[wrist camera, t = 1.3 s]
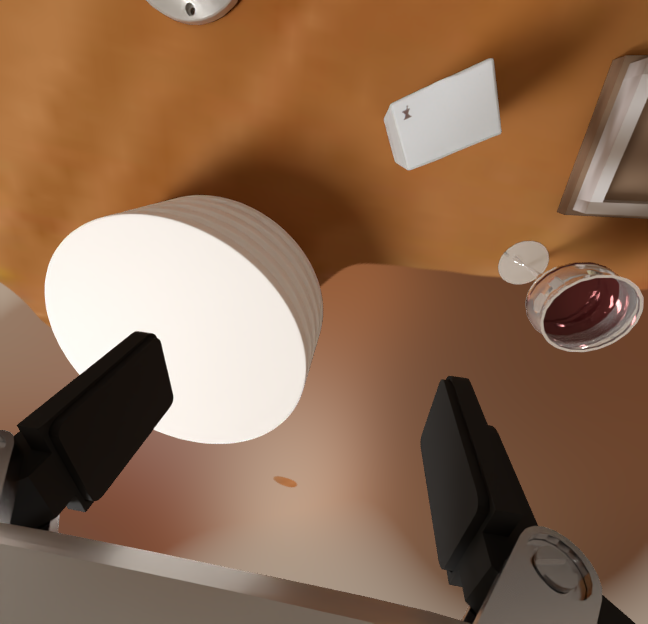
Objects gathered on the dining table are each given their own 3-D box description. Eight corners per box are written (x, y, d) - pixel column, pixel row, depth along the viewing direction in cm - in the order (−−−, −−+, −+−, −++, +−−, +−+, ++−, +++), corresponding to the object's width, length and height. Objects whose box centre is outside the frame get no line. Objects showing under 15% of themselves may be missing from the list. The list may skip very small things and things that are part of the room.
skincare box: (395, 164, 31) (405, 173, 21) (382, 118, 29) (387, 102, 19) (458, 138, 29) (504, 134, 19) (449, 87, 27) (494, 51, 17)
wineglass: (476, 264, 34) (520, 315, 24) (534, 218, 31) (613, 254, 21) (513, 302, 36) (570, 366, 25) (572, 262, 33) (663, 316, 22)
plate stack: (104, 177, 36) (0, 189, 26) (338, 215, 34) (322, 243, 24) (142, 363, 50) (84, 418, 40) (311, 398, 48) (294, 464, 38)
